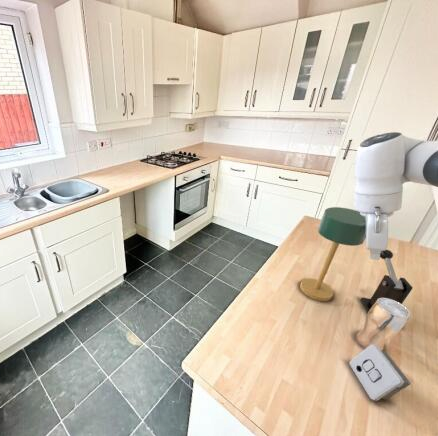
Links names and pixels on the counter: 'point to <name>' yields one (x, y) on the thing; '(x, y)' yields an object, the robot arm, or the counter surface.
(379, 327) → the beer glass
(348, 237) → the desk lamp
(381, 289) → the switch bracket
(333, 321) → the counter surface
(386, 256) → the switch lever
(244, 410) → the counter surface
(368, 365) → the electrical switch
